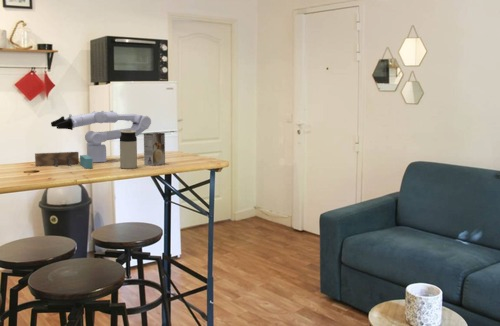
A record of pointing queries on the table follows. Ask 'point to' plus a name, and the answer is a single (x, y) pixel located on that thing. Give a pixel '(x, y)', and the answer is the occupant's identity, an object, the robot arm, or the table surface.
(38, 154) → the brown wooden bar
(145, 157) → the coffee box
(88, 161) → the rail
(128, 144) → the travel mug
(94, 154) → the robot arm
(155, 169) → the table surface
